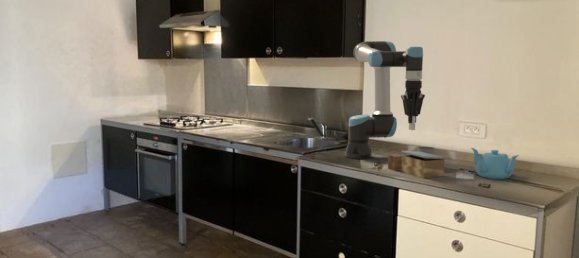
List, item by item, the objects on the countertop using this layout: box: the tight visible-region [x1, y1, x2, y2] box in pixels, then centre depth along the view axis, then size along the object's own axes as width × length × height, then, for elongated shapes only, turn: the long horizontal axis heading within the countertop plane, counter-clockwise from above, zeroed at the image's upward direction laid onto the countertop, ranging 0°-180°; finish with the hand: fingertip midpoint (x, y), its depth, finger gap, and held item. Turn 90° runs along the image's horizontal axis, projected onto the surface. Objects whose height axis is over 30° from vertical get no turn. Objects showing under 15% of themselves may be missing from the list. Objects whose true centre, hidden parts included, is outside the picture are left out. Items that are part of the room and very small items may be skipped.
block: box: [387, 153, 402, 172], centre depth 244 cm, size 5×5×7 cm
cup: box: [417, 146, 436, 155], centre depth 248 cm, size 8×8×10 cm
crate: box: [400, 154, 446, 179], centre depth 234 cm, size 16×12×8 cm
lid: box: [400, 150, 446, 159], centre depth 233 cm, size 17×12×1 cm
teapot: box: [470, 147, 520, 180], centre depth 229 cm, size 17×19×12 cm
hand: (411, 129), depth 233 cm, fingers closed
